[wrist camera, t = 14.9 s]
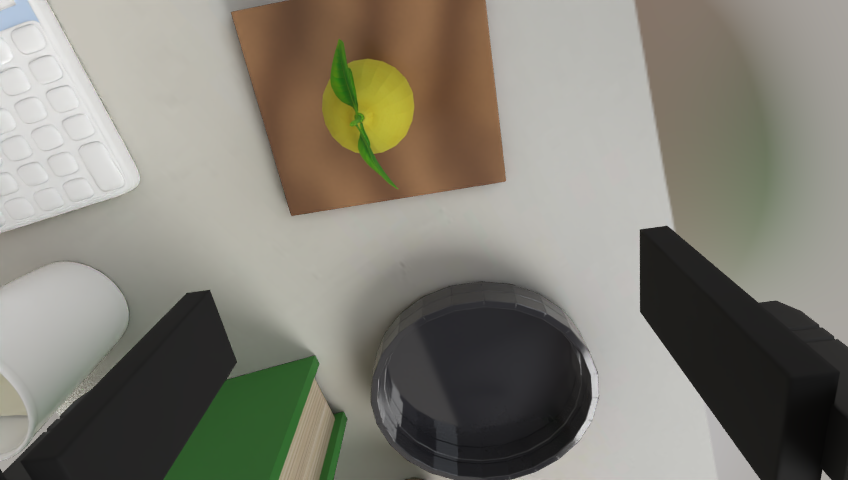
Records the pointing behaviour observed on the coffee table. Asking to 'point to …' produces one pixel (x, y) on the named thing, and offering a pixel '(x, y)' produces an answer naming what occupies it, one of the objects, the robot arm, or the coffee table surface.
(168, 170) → the coffee table surface
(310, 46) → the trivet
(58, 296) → the candle holder
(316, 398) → the hardback book
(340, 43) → the lemon
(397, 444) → the pan
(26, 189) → the calculator
